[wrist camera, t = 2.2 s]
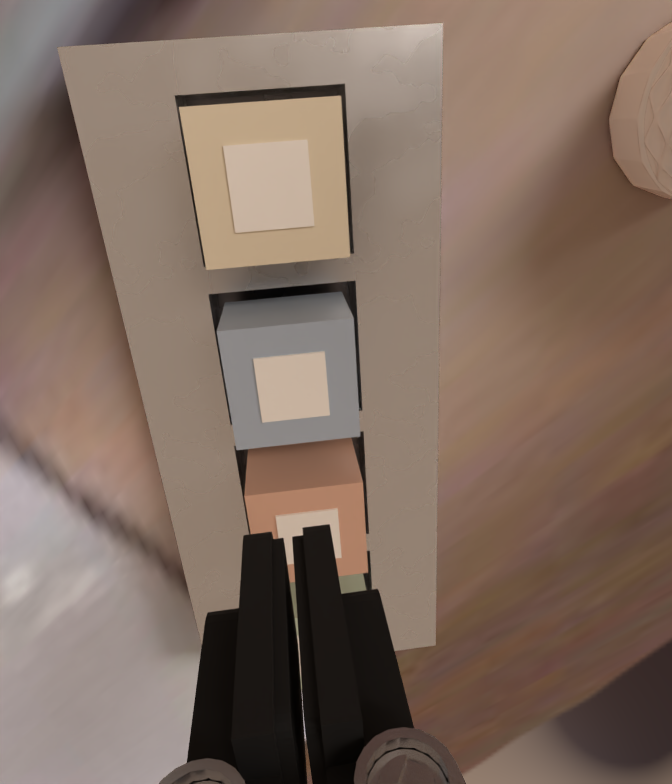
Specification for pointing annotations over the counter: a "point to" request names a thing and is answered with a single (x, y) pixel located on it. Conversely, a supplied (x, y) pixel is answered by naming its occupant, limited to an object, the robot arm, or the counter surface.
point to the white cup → (646, 116)
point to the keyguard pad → (279, 280)
